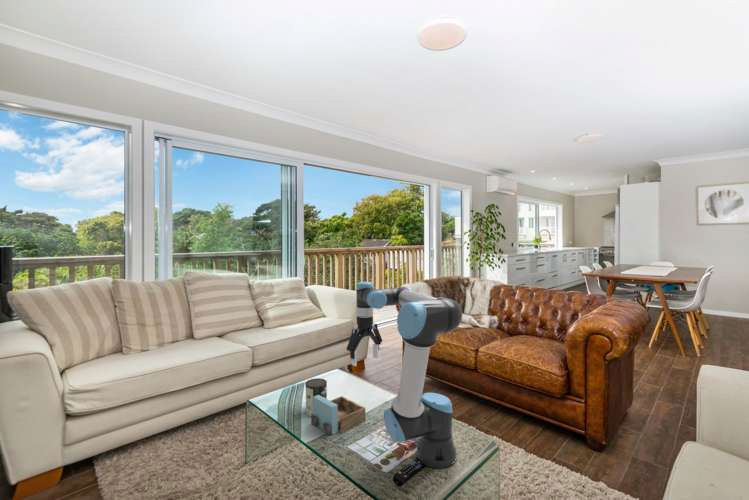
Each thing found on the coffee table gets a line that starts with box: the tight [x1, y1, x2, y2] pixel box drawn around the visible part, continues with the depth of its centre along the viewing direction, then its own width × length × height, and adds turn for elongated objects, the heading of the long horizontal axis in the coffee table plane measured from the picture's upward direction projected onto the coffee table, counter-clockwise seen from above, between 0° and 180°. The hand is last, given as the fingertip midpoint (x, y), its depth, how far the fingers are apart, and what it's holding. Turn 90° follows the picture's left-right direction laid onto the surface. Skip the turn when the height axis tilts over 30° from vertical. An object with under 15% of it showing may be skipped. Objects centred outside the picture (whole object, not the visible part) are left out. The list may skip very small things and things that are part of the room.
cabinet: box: [310, 395, 366, 436], centre depth 165 cm, size 17×20×6 cm
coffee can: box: [304, 378, 328, 417], centre depth 176 cm, size 10×10×14 cm
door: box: [313, 395, 339, 436], centre depth 161 cm, size 14×3×12 cm, turn 44°
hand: (365, 361), depth 167 cm, fingers open, 13 cm apart
